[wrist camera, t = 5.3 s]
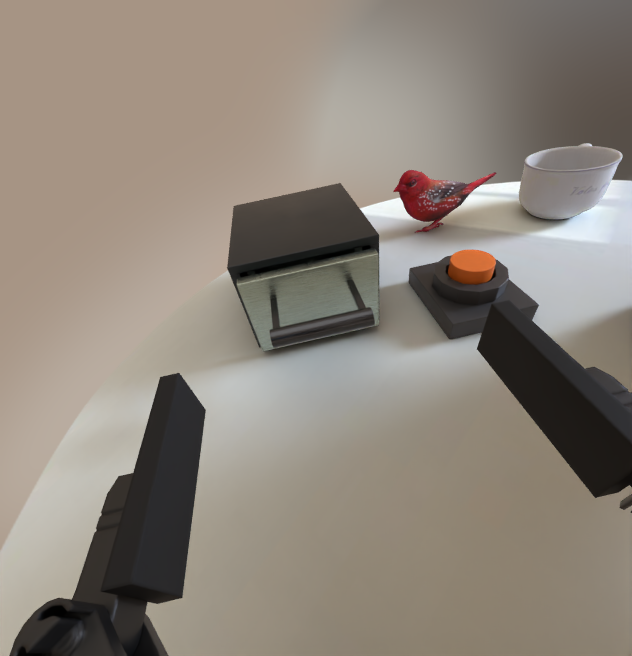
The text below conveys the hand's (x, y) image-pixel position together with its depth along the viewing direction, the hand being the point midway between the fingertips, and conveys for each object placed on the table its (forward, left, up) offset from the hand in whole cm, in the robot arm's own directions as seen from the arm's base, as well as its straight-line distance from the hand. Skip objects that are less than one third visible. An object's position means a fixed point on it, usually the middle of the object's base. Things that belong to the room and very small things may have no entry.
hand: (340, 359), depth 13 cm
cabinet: (+25, 0, -14) cm, 28 cm away
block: (+17, -17, -14) cm, 28 cm away
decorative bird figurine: (+35, -23, -14) cm, 45 cm away
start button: (+17, -18, -11) cm, 27 cm away
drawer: (+19, 0, -13) cm, 23 cm away
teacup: (+33, -41, -14) cm, 55 cm away
